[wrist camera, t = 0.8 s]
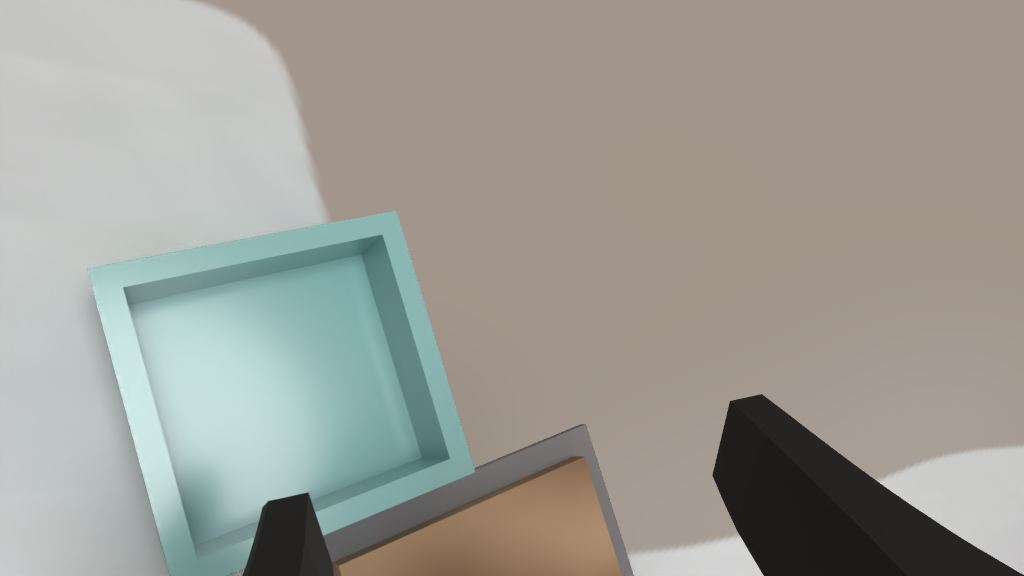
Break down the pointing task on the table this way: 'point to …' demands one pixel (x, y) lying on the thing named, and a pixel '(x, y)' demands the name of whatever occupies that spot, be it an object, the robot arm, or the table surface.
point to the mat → (476, 487)
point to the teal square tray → (278, 383)
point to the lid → (504, 534)
